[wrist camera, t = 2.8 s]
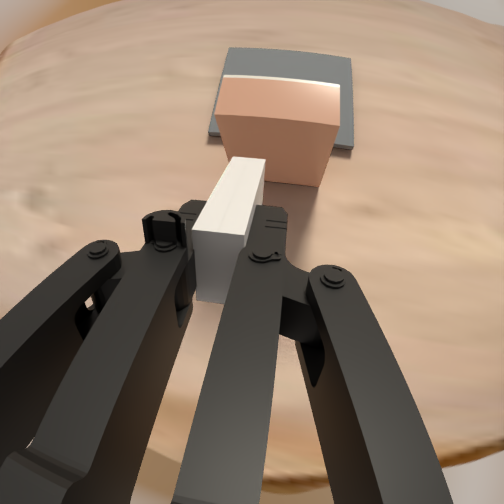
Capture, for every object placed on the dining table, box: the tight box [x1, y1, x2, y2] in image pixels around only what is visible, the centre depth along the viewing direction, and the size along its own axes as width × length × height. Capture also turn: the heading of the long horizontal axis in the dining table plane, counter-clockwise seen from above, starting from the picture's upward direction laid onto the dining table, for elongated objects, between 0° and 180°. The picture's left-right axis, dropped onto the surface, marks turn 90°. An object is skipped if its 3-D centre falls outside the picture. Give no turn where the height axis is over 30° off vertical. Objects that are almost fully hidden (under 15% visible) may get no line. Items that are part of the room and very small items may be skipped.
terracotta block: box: [214, 75, 340, 187], centre depth 28 cm, size 4×9×12 cm, turn 82°
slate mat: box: [208, 48, 354, 150], centre depth 35 cm, size 14×16×1 cm
